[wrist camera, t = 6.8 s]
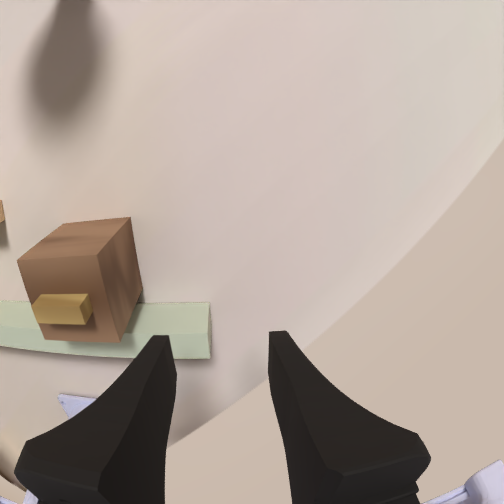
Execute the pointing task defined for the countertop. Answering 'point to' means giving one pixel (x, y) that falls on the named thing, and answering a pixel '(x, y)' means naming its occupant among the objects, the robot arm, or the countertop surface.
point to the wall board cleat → (134, 338)
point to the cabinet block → (83, 280)
